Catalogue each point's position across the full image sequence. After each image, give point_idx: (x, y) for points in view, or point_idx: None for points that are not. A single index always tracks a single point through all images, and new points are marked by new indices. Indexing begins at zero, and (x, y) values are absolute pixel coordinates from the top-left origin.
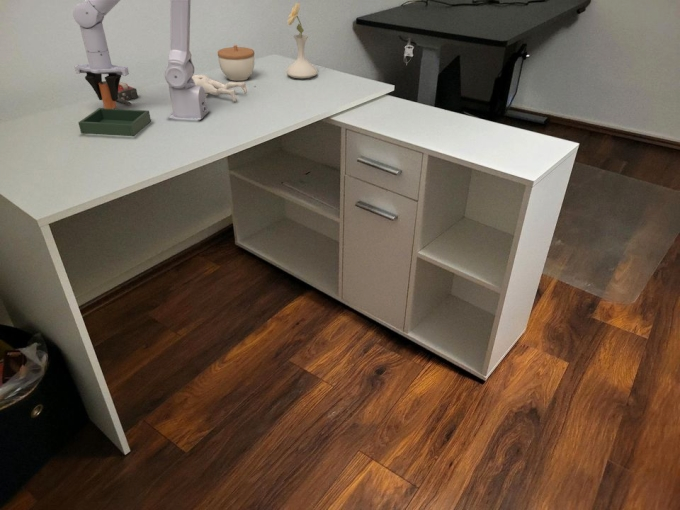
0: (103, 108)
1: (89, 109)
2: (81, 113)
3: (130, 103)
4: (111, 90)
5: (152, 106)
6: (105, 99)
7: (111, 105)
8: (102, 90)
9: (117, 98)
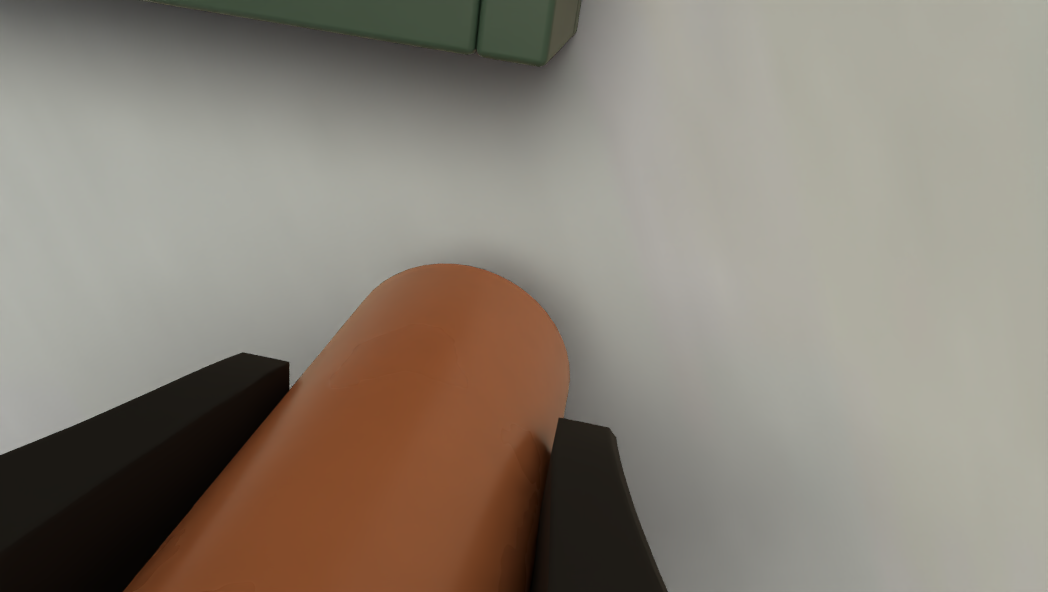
0: (420, 24)
1: (921, 558)
2: (1035, 405)
3: None
4: (33, 479)
5: None
6: (412, 357)
7: (366, 301)
8: (350, 527)
9: None
